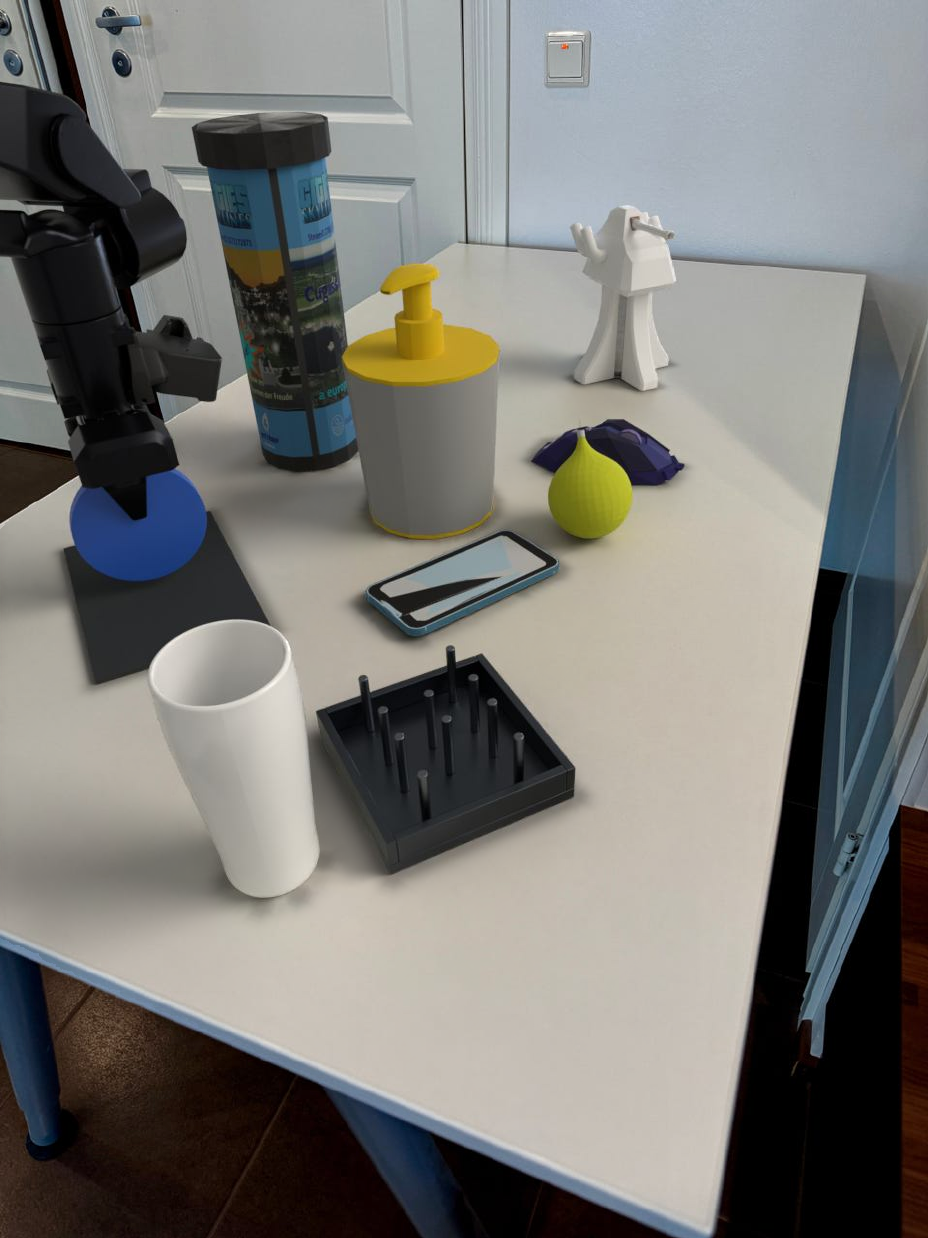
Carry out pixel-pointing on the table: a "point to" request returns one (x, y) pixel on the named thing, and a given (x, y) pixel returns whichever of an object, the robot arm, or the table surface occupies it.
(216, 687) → the drinking glass
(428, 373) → the soap bottle
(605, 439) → the computer mouse
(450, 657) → the rack
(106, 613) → the mat
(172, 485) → the plate
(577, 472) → the green fig
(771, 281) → the table surface
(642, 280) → the toy gun turret
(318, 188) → the advertising column
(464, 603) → the smartphone
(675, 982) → the table surface
